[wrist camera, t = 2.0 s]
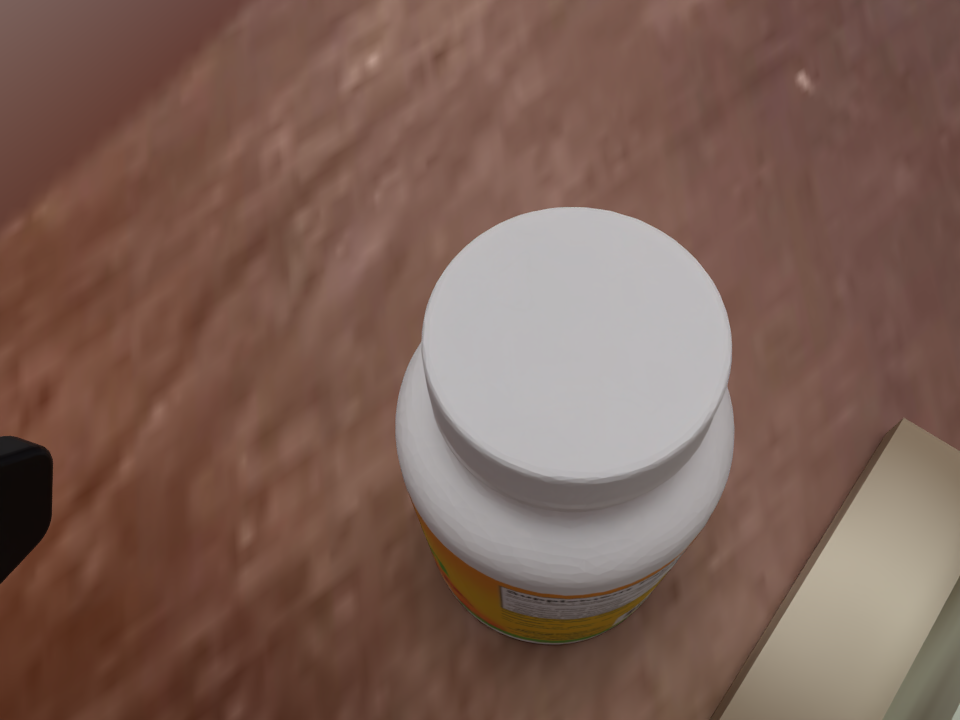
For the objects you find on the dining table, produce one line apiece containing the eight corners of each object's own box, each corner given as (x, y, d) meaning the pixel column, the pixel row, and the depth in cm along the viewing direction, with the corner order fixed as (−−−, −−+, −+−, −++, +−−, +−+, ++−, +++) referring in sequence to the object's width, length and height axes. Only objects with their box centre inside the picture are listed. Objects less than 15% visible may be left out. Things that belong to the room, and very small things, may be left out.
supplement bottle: (428, 427, 20) (362, 176, 12) (645, 411, 20) (742, 147, 12) (436, 657, 18) (363, 558, 9) (683, 639, 18) (841, 523, 9)
